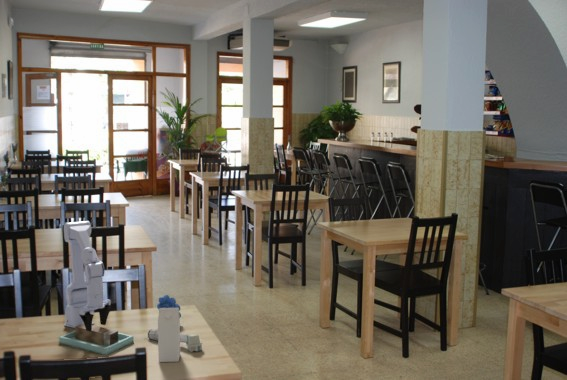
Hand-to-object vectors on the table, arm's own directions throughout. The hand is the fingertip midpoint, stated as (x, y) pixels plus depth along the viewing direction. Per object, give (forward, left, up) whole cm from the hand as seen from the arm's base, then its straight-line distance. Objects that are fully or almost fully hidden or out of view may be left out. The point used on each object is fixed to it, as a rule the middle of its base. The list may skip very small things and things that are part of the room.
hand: (96, 327), depth 245 cm
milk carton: (+34, +2, -6) cm, 35 cm away
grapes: (+10, +31, -6) cm, 33 cm away
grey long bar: (+28, +14, -7) cm, 31 cm away
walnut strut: (0, 0, -6) cm, 6 cm away
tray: (0, 0, -6) cm, 6 cm away
